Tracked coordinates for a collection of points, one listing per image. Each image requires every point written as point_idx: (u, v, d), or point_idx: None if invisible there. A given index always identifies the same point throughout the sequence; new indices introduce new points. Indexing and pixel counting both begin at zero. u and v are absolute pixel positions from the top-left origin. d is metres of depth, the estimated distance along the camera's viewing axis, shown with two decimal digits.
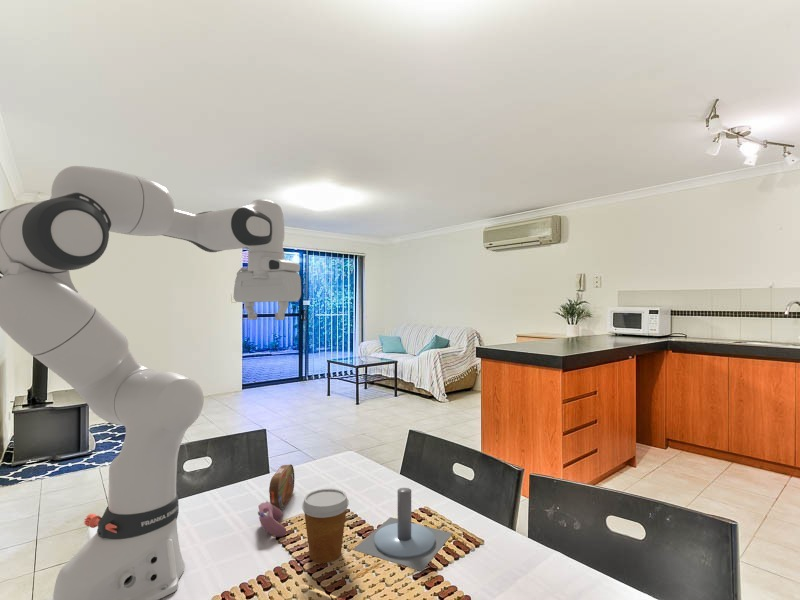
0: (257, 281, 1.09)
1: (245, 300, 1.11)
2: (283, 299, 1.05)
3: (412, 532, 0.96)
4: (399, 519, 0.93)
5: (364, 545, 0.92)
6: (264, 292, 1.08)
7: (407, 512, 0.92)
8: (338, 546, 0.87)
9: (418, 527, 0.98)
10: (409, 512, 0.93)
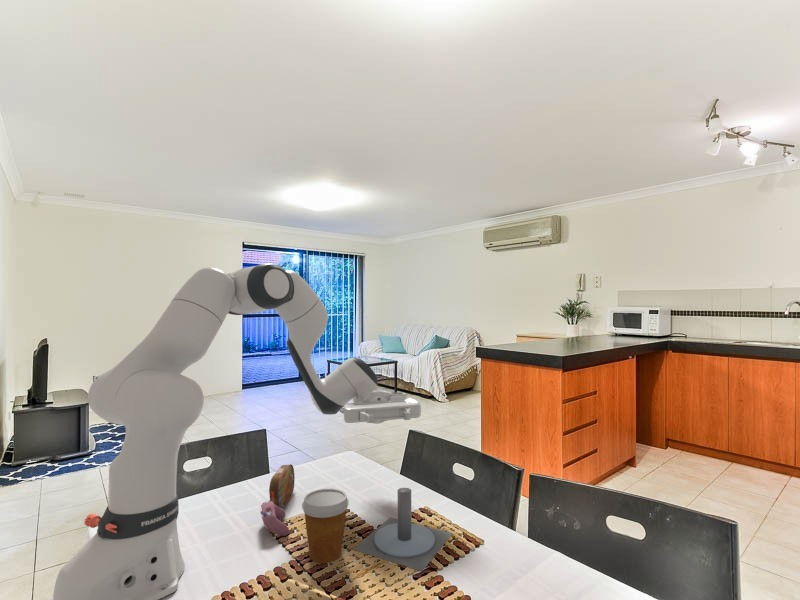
0: (374, 404, 1.15)
1: (363, 408, 1.09)
2: (412, 404, 1.13)
3: (412, 532, 0.96)
4: (399, 519, 0.93)
5: (364, 545, 0.92)
6: (387, 404, 1.13)
7: (407, 512, 0.92)
8: (338, 546, 0.87)
9: (418, 527, 0.98)
10: (409, 512, 0.93)
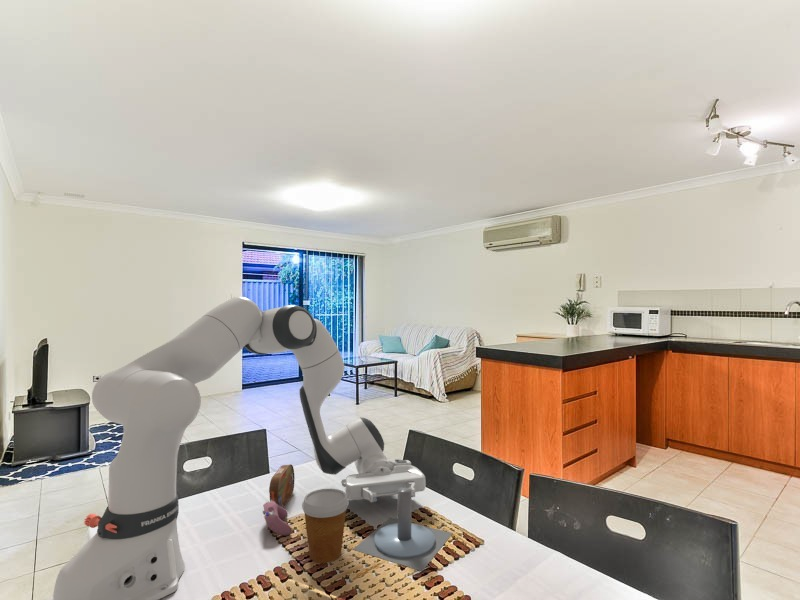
0: (377, 475, 1.11)
1: (366, 483, 1.05)
2: (417, 477, 1.09)
3: (412, 532, 0.96)
4: (399, 519, 0.93)
5: (364, 545, 0.92)
6: (390, 477, 1.09)
7: (407, 512, 0.92)
8: (338, 546, 0.87)
9: (418, 527, 0.98)
10: (409, 512, 0.93)
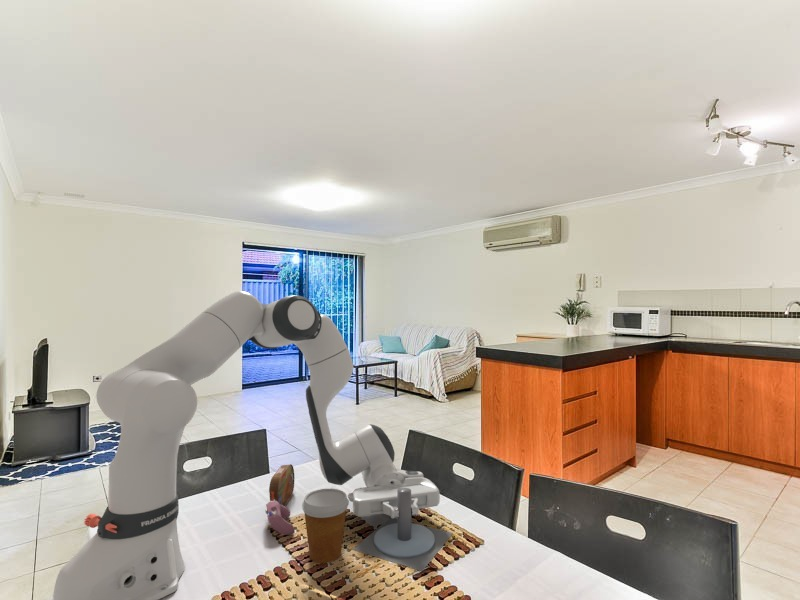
0: (387, 489, 1.02)
1: (375, 498, 0.96)
2: (430, 491, 1.00)
3: (412, 532, 0.96)
4: (399, 519, 0.93)
5: (364, 545, 0.92)
6: None
7: (407, 512, 0.92)
8: (338, 546, 0.87)
9: (418, 527, 0.98)
10: (409, 512, 0.93)
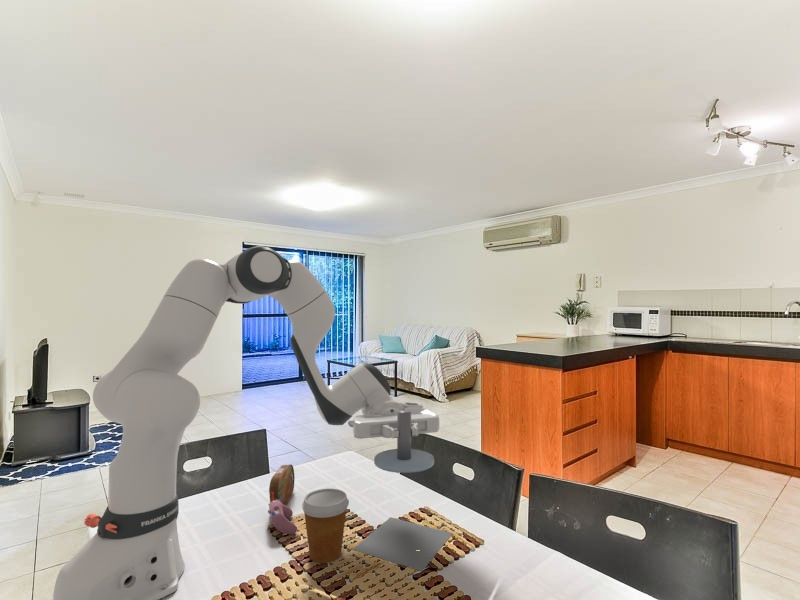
0: (387, 416, 1.02)
1: (375, 421, 0.96)
2: (430, 417, 1.00)
3: (412, 454, 0.96)
4: (399, 439, 0.93)
5: (364, 545, 0.92)
6: None
7: (407, 432, 0.93)
8: (338, 546, 0.87)
9: (418, 451, 0.98)
10: (409, 432, 0.93)
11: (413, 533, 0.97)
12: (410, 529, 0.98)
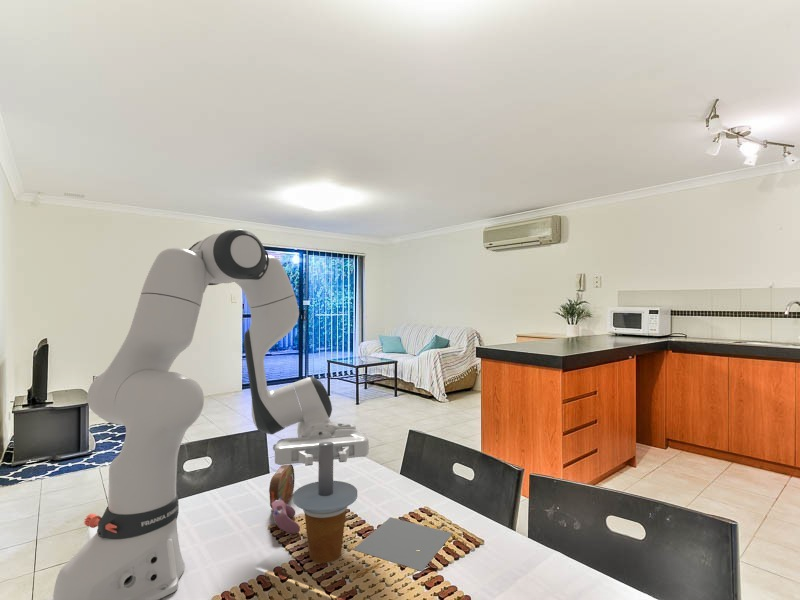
0: (314, 439, 0.97)
1: (297, 446, 0.91)
2: (358, 441, 0.95)
3: (335, 488, 0.91)
4: (319, 473, 0.88)
5: (364, 545, 0.92)
6: (328, 440, 0.95)
7: (328, 466, 0.88)
8: (338, 546, 0.87)
9: (344, 484, 0.93)
10: (330, 466, 0.88)
11: (413, 533, 0.97)
12: (410, 529, 0.98)
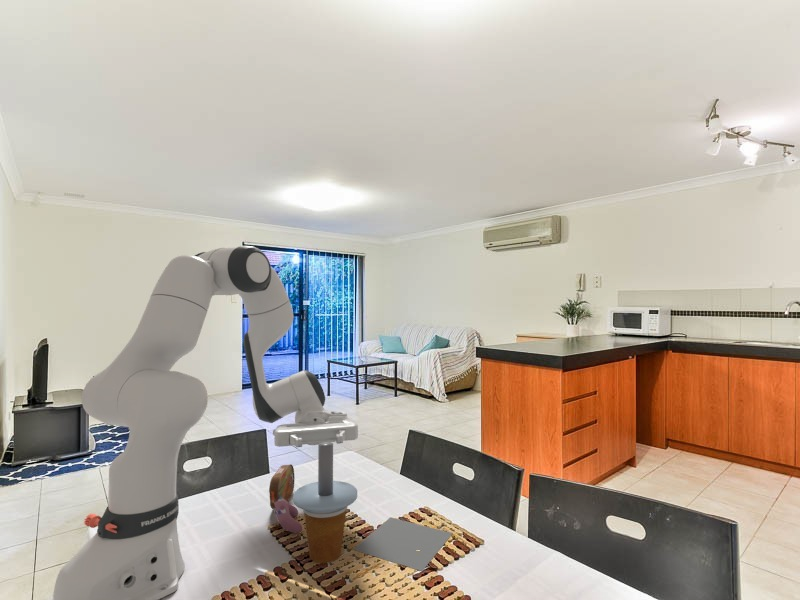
0: (309, 425, 1.09)
1: (294, 430, 1.04)
2: (348, 426, 1.07)
3: (335, 489, 0.91)
4: (319, 473, 0.88)
5: (364, 545, 0.92)
6: (321, 426, 1.07)
7: (328, 466, 0.88)
8: (338, 546, 0.87)
9: (344, 484, 0.93)
10: (330, 466, 0.88)
11: (413, 533, 0.97)
12: (410, 529, 0.98)
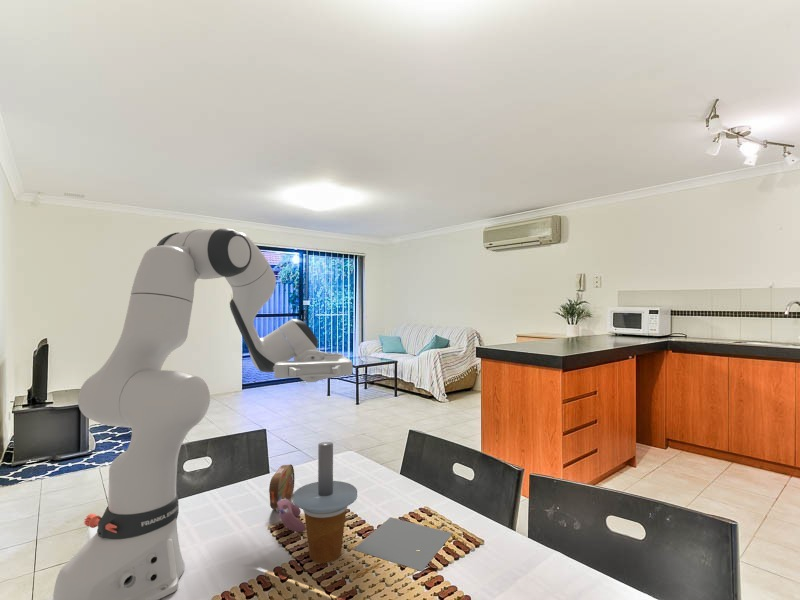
0: (307, 362, 1.17)
1: (293, 364, 1.11)
2: (343, 362, 1.15)
3: (335, 489, 0.91)
4: (319, 473, 0.88)
5: (364, 545, 0.92)
6: None
7: (328, 466, 0.88)
8: (338, 546, 0.87)
9: (344, 484, 0.93)
10: (330, 466, 0.88)
11: (413, 533, 0.97)
12: (410, 529, 0.98)
